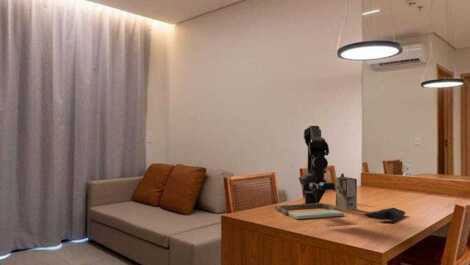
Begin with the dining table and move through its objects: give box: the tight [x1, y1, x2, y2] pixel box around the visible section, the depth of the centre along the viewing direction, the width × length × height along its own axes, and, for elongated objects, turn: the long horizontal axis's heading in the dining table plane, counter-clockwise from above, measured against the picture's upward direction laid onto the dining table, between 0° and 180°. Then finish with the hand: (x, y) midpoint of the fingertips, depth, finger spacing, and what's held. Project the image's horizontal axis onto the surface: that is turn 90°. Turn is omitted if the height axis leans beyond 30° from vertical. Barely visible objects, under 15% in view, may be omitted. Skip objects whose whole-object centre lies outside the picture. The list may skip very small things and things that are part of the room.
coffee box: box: [335, 176, 358, 211], centre depth 174 cm, size 9×6×16 cm
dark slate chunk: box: [363, 207, 406, 225], centre depth 159 cm, size 15×22×5 cm
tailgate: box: [288, 209, 345, 220], centre depth 155 cm, size 2×24×8 cm
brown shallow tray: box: [274, 202, 337, 216], centre depth 165 cm, size 12×26×3 cm, turn 107°
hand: (317, 203), depth 154 cm, fingers closed
